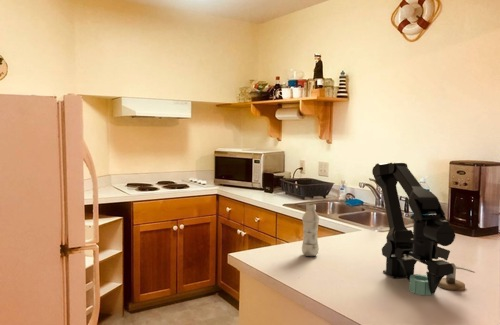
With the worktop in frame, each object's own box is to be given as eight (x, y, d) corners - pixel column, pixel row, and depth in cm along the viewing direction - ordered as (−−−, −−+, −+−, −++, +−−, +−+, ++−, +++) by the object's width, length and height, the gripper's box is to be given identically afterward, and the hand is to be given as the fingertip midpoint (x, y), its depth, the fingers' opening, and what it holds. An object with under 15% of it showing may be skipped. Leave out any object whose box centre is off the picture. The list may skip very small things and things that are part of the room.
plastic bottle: (321, 255, 153) (323, 204, 151) (312, 259, 148) (313, 206, 146) (308, 252, 157) (309, 202, 156) (298, 255, 152) (299, 204, 151)
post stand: (450, 291, 118) (451, 268, 117) (430, 282, 126) (431, 260, 125) (471, 289, 120) (472, 265, 120) (450, 279, 128) (451, 258, 127)
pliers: (453, 271, 132) (420, 258, 146) (453, 276, 133) (419, 262, 147) (475, 268, 136) (440, 256, 150) (474, 273, 136) (440, 260, 150)
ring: (419, 296, 114) (420, 282, 114) (405, 288, 121) (405, 275, 120) (437, 293, 116) (438, 280, 116) (422, 286, 122) (422, 273, 122)
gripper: (470, 243, 111) (467, 296, 112) (423, 228, 129) (421, 274, 130) (438, 246, 108) (436, 301, 109) (394, 230, 125) (392, 277, 126)
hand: (421, 287), depth 118 cm, fingers open, 9 cm apart
